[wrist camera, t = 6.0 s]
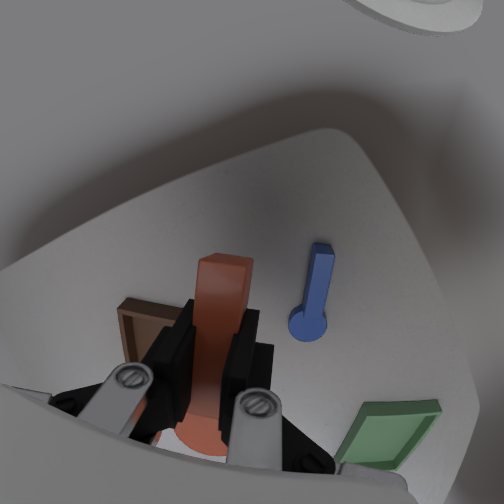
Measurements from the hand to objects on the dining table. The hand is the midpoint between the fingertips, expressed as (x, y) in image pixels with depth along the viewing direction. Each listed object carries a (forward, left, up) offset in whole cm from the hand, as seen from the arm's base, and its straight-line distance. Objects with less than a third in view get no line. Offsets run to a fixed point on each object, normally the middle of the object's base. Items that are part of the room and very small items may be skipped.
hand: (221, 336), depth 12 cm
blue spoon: (+5, +6, -15) cm, 17 cm away
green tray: (+27, +21, -15) cm, 37 cm away
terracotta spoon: (+1, 0, 0) cm, 1 cm away
